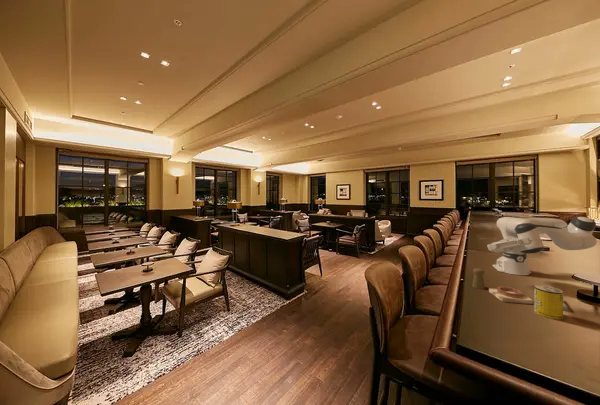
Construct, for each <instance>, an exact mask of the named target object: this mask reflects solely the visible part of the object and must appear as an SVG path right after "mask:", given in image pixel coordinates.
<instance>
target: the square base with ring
mask: <svg viewBox="0 0 600 405" xmlns="http://www.w3.org/2000/svg"><path fill="white" fill-rule="evenodd" d="M488 292H489V293H490V294H492V295H493V296H494V297H496V298H497V299H499V300H500V301H501V302H503V303H513V304H525V305H534V299H532V298H530V297H529V296H527V295H525V294H523V291H522V290H520V289H517V288H514V287H510V286H497V287H496V288H493V287H488Z"/></svg>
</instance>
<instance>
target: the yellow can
mask: <svg viewBox="0 0 600 405" xmlns="http://www.w3.org/2000/svg"><path fill="white" fill-rule="evenodd" d="M533 287H534V288H533V289H534V290H533V312H534V314H537V315H538V316H541V317H543V318H546V319H550V318H551V319H550V320H556V321H557V320H563V318H564V311H563V301H564V291H563V290H562V289H560V288H557V287H553V286H549V285H543V284H537V285H536V284H535V285H534V286H533Z"/></svg>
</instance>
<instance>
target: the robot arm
mask: <svg viewBox="0 0 600 405" xmlns="http://www.w3.org/2000/svg"><path fill="white" fill-rule="evenodd" d="M596 226H597V222H596V221H595V220H594V219H592V218H589V217H586V216H574V217H573V218H572V219H570V222H569V223H567V222H566V221H564V220H562V219H560V218H553V217H551V218H550V217H531V218H529V217H526V218H524V217H523V218H522V217H512V216H504V217H503V216H502V217H500V218H498V219H497V220H496V227H497V228H498V229H499V230H500V233H501V235H502V238H503V239H501V240H498V241H495V242H491V243H489V244H487V249H488V251H490V252H495V253H499V254H500V253H502V256H500V257H498V258H497V259H496V260H495V263H494V264H492V267H493V268H494V269H496V270H497V271H498V272H501V273H506V274H510V275H515V276H529V275H530V274H532V271H531V270H530V264H529V261H528V260H527V257H528V256H527V254H528V255H529V254H537V253H540V252H542V251H543V250H544V249H545V245H544V243H543V241H542V239H541V237H540V234H541V235H547V236H548V237H549V238H550V240H551V241H552V243H554V245H556V246H557V247H558V248H560V249H562V250H566V251H581V250H588V249H590V248H594V247H595V246H596V245H597V243H598V241H597V238H596V237H595V236H594V235H593V233H594V231H595V229H596V228H597V227H596Z"/></svg>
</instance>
